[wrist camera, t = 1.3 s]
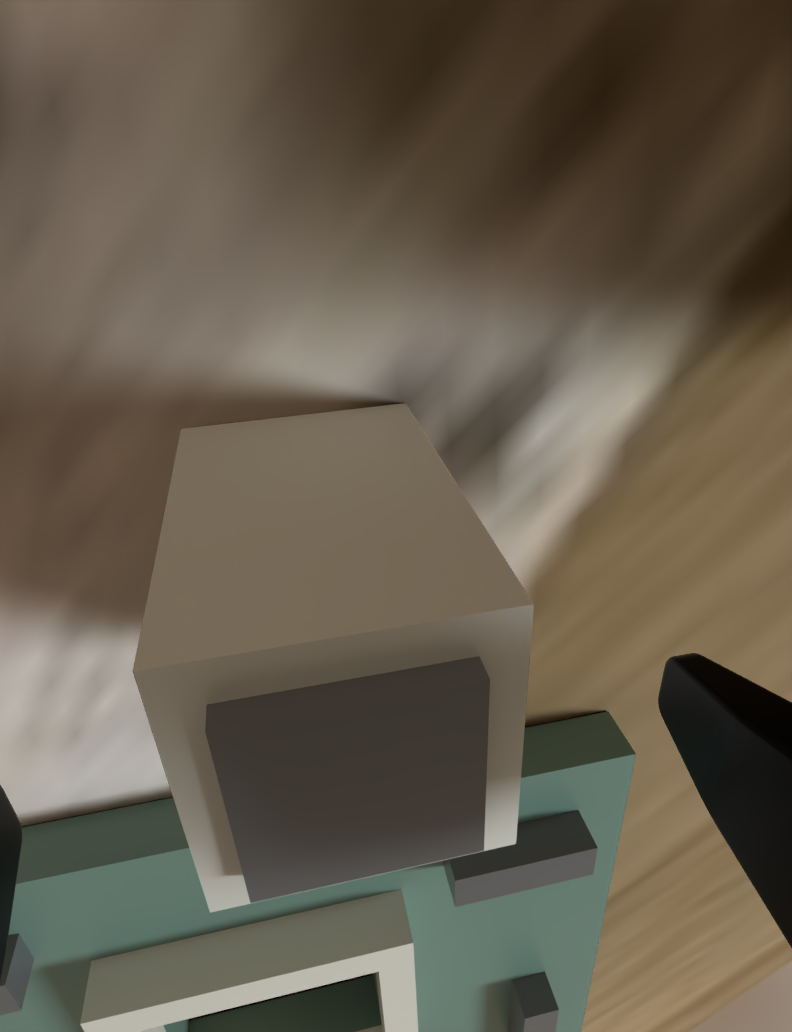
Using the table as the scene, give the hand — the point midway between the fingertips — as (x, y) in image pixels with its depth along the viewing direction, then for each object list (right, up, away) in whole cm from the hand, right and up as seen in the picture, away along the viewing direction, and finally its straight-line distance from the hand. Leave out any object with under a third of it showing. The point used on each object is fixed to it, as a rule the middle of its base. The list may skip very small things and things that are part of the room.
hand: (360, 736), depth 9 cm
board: (-4, -11, +13) cm, 18 cm away
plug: (-1, +3, +5) cm, 7 cm away
